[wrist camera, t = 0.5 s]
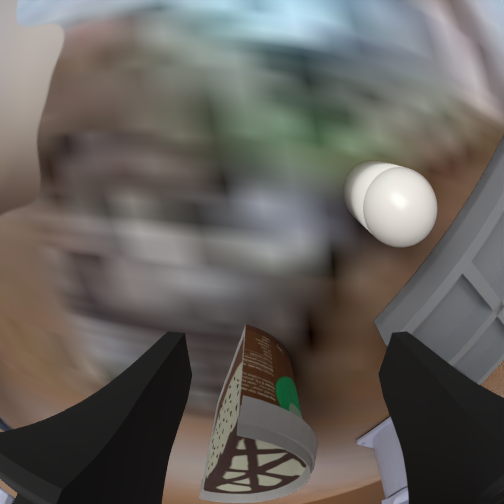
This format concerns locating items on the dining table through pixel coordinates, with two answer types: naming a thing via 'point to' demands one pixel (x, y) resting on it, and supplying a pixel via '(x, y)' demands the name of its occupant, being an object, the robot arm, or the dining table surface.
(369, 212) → the egg
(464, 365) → the grey compartment tray
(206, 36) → the dining table surface
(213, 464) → the food container
